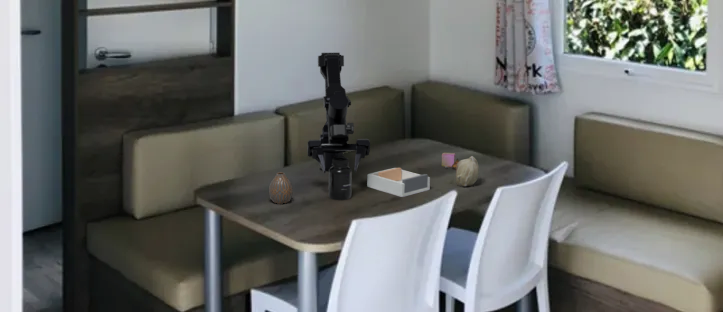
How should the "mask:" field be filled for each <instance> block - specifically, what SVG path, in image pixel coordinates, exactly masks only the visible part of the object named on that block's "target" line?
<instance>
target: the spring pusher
mask: <svg viewBox="0 0 723 312" xmlns="http://www.w3.org/2000/svg"><path fill="white" fill-rule="evenodd" d="M394 168H395V169H392V168H389V169H390V170H387V169H385V170H386V171H383V170H381V171H382V172H379V171H377V172H378V176H380V177H383V178H387V179H390V180H394V181H398V180H401V170H402V167H394Z"/></svg>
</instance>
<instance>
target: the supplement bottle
mask: <svg viewBox="0 0 723 312" xmlns="http://www.w3.org/2000/svg"><path fill="white" fill-rule="evenodd" d="M332 165H333V166H332V167H331V168H330V169H329V171H328V197H329V199H331V200H334V201H345V200H349V199H351V198H352V186H353V185H352V183H353V182H352V180H353V179H352V177H353V176H352V174H353V172H352V171H353V170H352V168H351V167H350V166H349V158H348V157H345V156H344V157H335V158H333V159H332Z"/></svg>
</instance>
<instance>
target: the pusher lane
mask: <svg viewBox="0 0 723 312" xmlns="http://www.w3.org/2000/svg"><path fill="white" fill-rule="evenodd" d="M395 168H396V167H393V168H388V169H384V170H379V171H375V172H370V173H368V174H367V175H366V176H367V177H366V178H367V180H366V181H367V182H366V183H367V184H366V185H367V186H366V187H367V188H371V189H374V190H377V191H380V192H384V193H386V194H390V195H394V196H397V197H401V198H404V197H407V196H411V195H414V194H418V193H422V192H427V191H429V190H431V189H430V186H431V177H430V176H429V175H428V174H427V173H423V174H419V173H415V172H411V171H408V170H405V169H401V180H398V181H394V180H390V179H387V178H383V177H380V176H378V172H382V171H386V170H390V169H395Z"/></svg>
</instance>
